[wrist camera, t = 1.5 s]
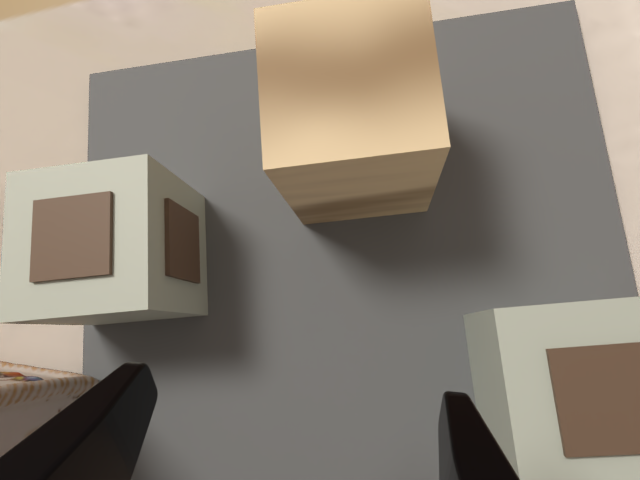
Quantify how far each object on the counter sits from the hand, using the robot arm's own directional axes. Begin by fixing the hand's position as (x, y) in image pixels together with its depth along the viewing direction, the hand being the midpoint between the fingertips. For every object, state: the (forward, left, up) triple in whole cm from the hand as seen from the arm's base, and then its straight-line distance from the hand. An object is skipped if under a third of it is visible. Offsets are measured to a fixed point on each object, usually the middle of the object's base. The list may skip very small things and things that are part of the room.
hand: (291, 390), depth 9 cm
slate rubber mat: (+4, 0, -14) cm, 14 cm away
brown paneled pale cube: (+5, +10, -13) cm, 17 cm away
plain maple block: (+9, -1, -13) cm, 16 cm away
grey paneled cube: (-2, -8, -13) cm, 16 cm away
